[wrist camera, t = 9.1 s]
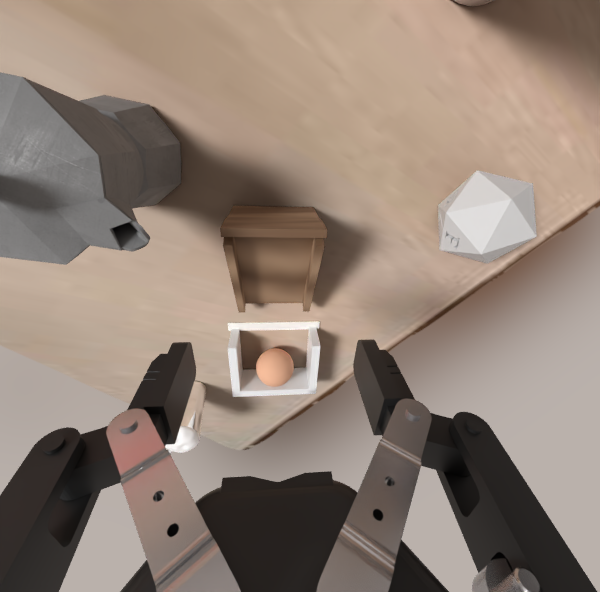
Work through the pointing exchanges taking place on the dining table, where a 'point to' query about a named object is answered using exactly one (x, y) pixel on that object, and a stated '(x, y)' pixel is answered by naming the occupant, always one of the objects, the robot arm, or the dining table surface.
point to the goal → (253, 386)
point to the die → (487, 217)
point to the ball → (274, 367)
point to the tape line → (273, 325)
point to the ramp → (273, 253)
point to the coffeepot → (78, 171)
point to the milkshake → (190, 421)
